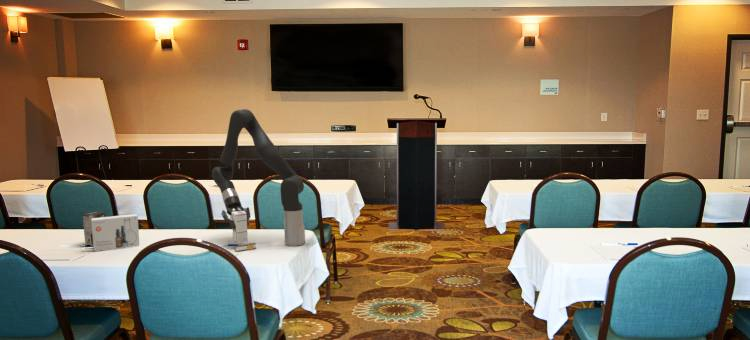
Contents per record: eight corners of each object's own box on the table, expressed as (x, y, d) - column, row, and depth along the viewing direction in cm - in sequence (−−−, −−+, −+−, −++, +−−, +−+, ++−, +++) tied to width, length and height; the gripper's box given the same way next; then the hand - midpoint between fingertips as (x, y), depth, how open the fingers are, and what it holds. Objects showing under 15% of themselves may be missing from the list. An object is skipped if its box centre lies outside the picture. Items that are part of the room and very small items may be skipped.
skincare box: (94, 252, 291) (91, 220, 289) (93, 249, 296) (90, 218, 294) (140, 246, 301) (137, 215, 299) (138, 243, 306) (136, 213, 304)
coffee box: (101, 241, 313) (99, 211, 311) (108, 242, 310) (105, 212, 308) (84, 245, 306) (81, 214, 304) (91, 246, 302) (88, 215, 300)
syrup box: (248, 241, 292) (246, 212, 290) (236, 243, 288) (235, 213, 287) (244, 239, 296) (242, 210, 295) (232, 241, 293) (231, 211, 291)
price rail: (254, 247, 291) (254, 242, 291) (256, 248, 289) (256, 243, 289) (234, 251, 286) (234, 246, 285) (236, 252, 284) (236, 247, 284)
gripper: (218, 196, 292) (228, 224, 284) (246, 193, 300) (257, 220, 291) (215, 205, 297) (225, 233, 289) (243, 202, 305) (253, 229, 296)
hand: (241, 227), depth 290 cm, fingers closed on syrup box, 6 cm apart
